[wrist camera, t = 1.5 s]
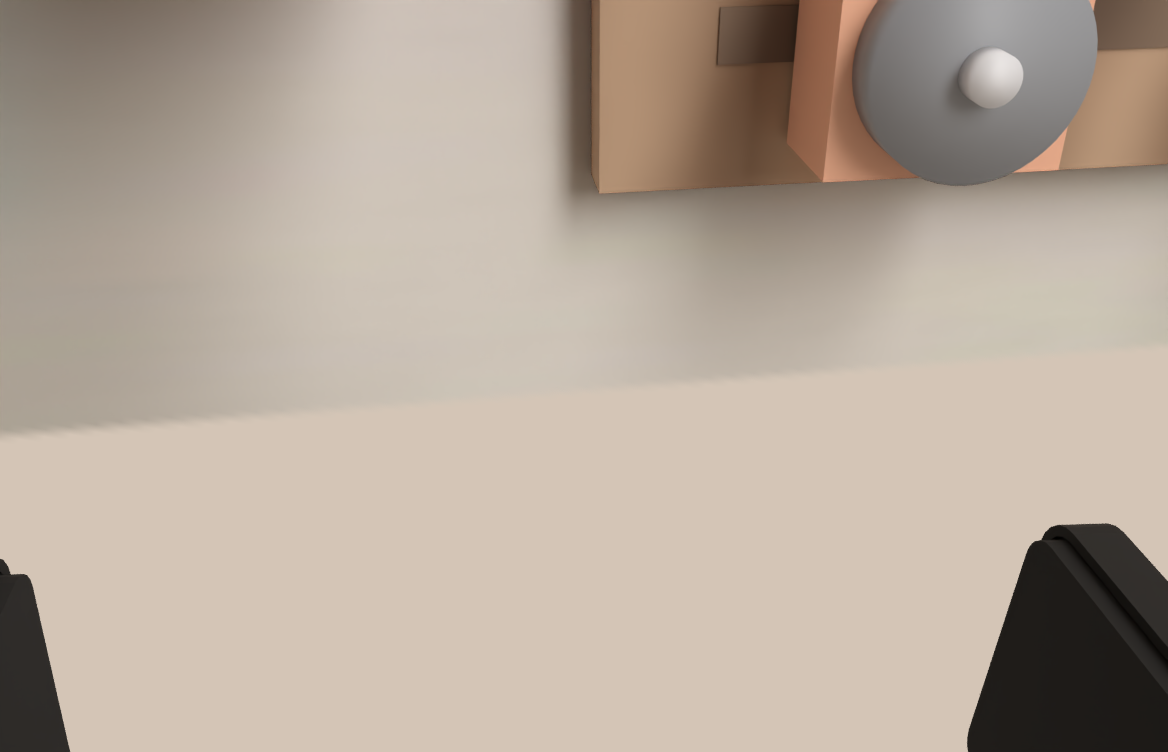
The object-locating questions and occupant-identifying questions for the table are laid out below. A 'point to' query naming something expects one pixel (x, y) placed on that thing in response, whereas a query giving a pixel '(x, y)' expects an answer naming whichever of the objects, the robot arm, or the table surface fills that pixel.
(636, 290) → the table surface
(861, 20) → the tensioner carriage
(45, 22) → the table surface
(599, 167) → the tensioner rail
